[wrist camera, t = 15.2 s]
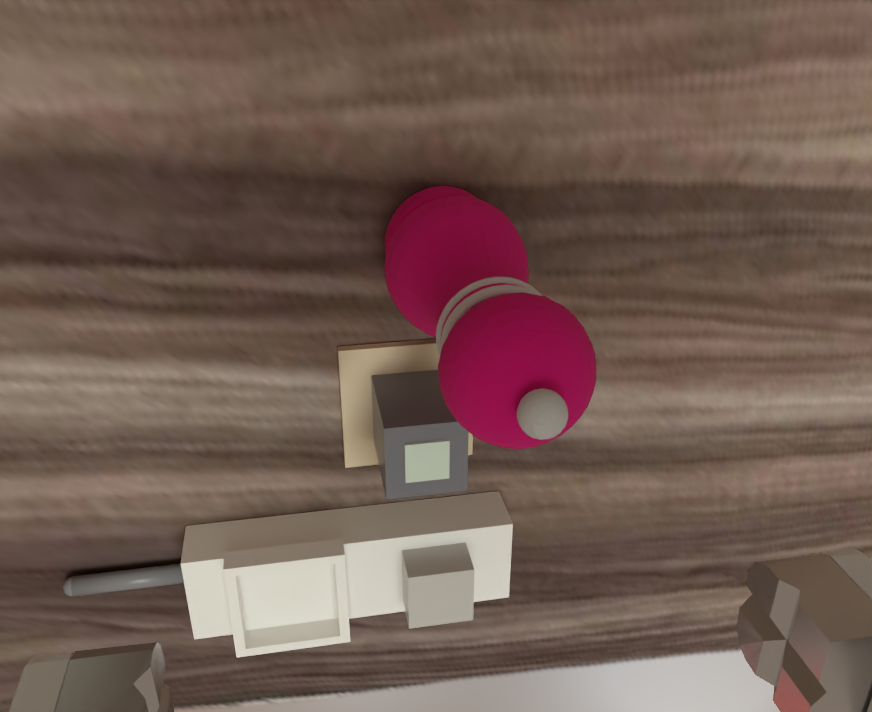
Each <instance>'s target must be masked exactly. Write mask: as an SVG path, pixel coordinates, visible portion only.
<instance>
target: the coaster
mask: <svg viewBox="0 0 872 712" xmlns="http://www.w3.org/2000/svg"><path fill="white" fill-rule="evenodd" d="M439 359H440V356H439V353H438V350H437V345H436V339H427V340H415V341H402V342H389V343H377V344H364V345H351V346H339V347H338V362H339V379H340V395H341V412H342V428H343V445H344V461H345V468H348V467H358V466H367V465H377V464H379V462H378V458H377V453H376V448H375V444H374V432H373V408H372V383H371V375H381V374H393V373H404V372H416V371H428V370H438V363H439ZM472 448H473V435H472V434H471V433H469V437H468V455H472Z"/></svg>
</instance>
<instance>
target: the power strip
mask: <svg viewBox="0 0 872 712" xmlns="http://www.w3.org/2000/svg"><path fill="white" fill-rule="evenodd" d="M512 530H513V523H512V521H511V519H510V516H509V514H508V512H507V509H506V507H505V504H504V502H503V500H502V497H501V495H500V493H499V491H494V492H485V493H477V494H468V495H459V496H450V497H441V498H432V499H423V500H414V501H405V502H396V503H387V504H378V505H369V506H360V507H351V508H342V509H333V510H324V511H315V512H306V513H297V514H288V515H280V516H271V517H262V518H253V519H244V520H235V521H226V522H217V523H208V524H199V525H190V526H186V530H185V536H184V543H183V550H182V557H181V564H172V565H164V566H155V567H147V568H139V569H130V570H122V571H113V572H105V573H97V574H88V575H80V576H72V577H70V578H68V579H67V580H66V581H65V582H64V585H63V590H64V592H65V593H66V594H67V595H68V596H81V595H89V594H97V593H105V592H113V591H122V590H130V589H138V588H146V587H154V586H162V585H170V584H179V583H184V585H185V591H186V596H187V602H188V607H189V613H190V618H191V624H192V629H193V635H194V639H201V638H209V637H216V636H223V635H231V634H233V637H234V643H235V650H236V657H245V656H252V655H259V654H266V653H273V652H281V651H288V650H295V649H302V648H309V647H317V646H324V645H331V644H338V643H345V642H350V628H349V619H350V618H358V617H365V616H373V615H380V614H388V613H395V612H402V611H405V612H406V616H407V621H408V626H409V629H410V628H417V627H424V626H431V625H439V624H446V623H453V622H461V621H468V620H473V604H474V602H477V601H485V600H492V599H499V598H507V597H509V586H510V567H511V549H512Z"/></svg>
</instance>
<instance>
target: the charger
mask: <svg viewBox="0 0 872 712" xmlns="http://www.w3.org/2000/svg"><path fill="white" fill-rule="evenodd" d="M371 383H372V408H373V432H374V444H375V448H376V453H377V458H378V462H379V467H380V472H381V477H382V481H383V486H384V491H385V495H386V499H396V498H405V497H414V496H423V495H432V494H441V493H450V492H459V491H467V483H468V437H469V432H468V431H467V430H466V429H464V428H463V427H462V426H461V425H460V424H459V423H458V421H457V420H456V419H455V417H454V416H453V415H452V413H451V412H450V410H449V408H448V407H447V405H446V403H445V401H444V398H443V395H442V392H441V388H440V384H439V374H438V370H428V371H416V372H404V373H393V374H381V375H371Z"/></svg>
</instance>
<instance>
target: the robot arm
mask: <svg viewBox="0 0 872 712" xmlns="http://www.w3.org/2000/svg"><path fill="white" fill-rule="evenodd" d="M745 584H746V586H747V587H748V588H749V590H750V591H751V593H752V595H751V596H750V597H749V598H748V599H747V600H746V602H745V603H744V604H743V605H742V606H741V607H740V609H739V615H738V621H737V631H738V637H739V644H740V647H741V649H742V652H743V654H744V657H745V659H746V661H747V662H748V664H749V665H750V667H751V668H752V670H753V672H754V673H755V675H757V676H759V677H760V678H762V679H764V680H765V681H767V682H769V683H770V684H772V685H774V697H773V701H774V703H775V704H776V706H777V707H778V709H779V710H780V711H781V712H872V562H871V561H870V560H869V559H868V558H867V557H866V556H865V555H864V554H863V553H862V552H860V551H858V550H856V549H853V548H848V549H841V550H834V551H827V552H821V553H818V554H807V555H801V556H794V557H787V558H780V559H773V560H766V561H759V562H755V563H754V564H753V565H752V566H751V568H750V569H749V570H748V574H747V578H746V582H745ZM164 669H165V661H164V657H163V652H162V648H161V645H160V644H159V643H157V642H156V643H147V644H138V645H128V646H119V647H110V648H101V649H92V650H83V651H75V652H74V653H64V654H54V655H45V656H35V657H32V658H31V659H30V661H29V662H28V663H27V665H26V666H25V667H24V669H23V672H22V675H21V677H20V680H19V683H18V686H17V689H16V692H15V695H14V698H13V700H12V703H11V706H10V709H9V712H174V706H173V700H172V694H171V689H170V688H168V687H167V686H165V685H164V684H163V677H164Z"/></svg>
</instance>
